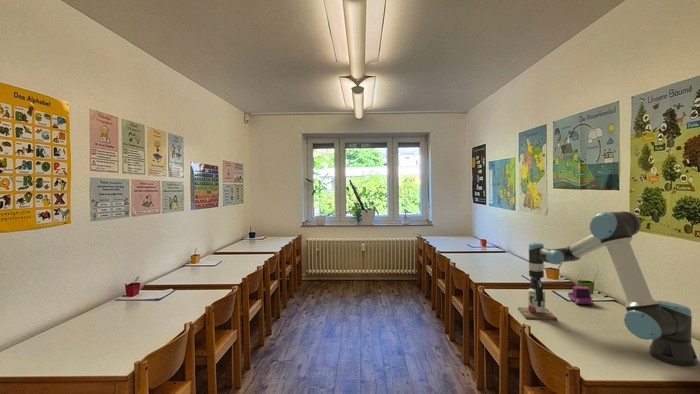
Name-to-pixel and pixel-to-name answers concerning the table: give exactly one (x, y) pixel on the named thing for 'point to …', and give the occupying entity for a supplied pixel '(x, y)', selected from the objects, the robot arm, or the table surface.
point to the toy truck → (581, 295)
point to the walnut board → (537, 314)
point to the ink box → (532, 300)
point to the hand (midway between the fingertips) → (536, 309)
